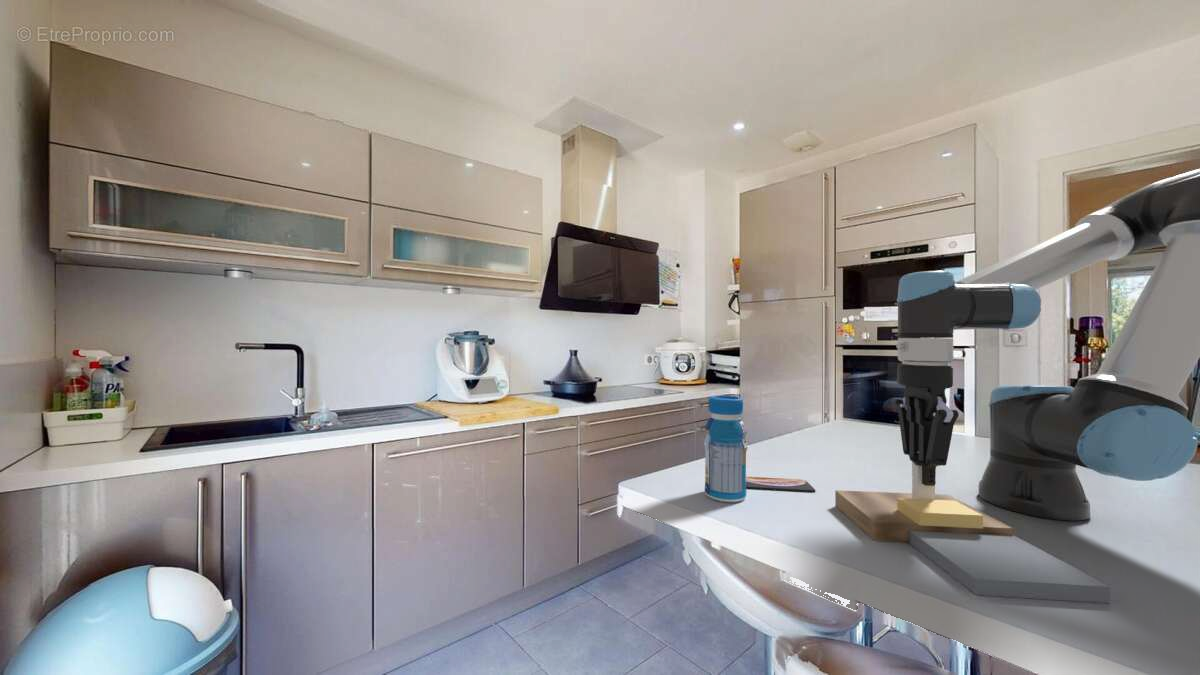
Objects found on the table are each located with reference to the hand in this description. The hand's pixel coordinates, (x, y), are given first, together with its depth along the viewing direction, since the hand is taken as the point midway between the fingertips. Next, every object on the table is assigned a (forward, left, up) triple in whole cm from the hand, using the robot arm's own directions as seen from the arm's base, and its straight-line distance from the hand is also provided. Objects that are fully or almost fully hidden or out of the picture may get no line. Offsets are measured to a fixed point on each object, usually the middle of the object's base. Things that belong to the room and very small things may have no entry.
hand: (923, 502), depth 72 cm
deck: (+1, -1, -4) cm, 4 cm away
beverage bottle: (+31, -11, -5) cm, 33 cm away
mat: (-2, +13, -4) cm, 14 cm away
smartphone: (+19, -19, -5) cm, 27 cm away
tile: (0, +4, -1) cm, 4 cm away
